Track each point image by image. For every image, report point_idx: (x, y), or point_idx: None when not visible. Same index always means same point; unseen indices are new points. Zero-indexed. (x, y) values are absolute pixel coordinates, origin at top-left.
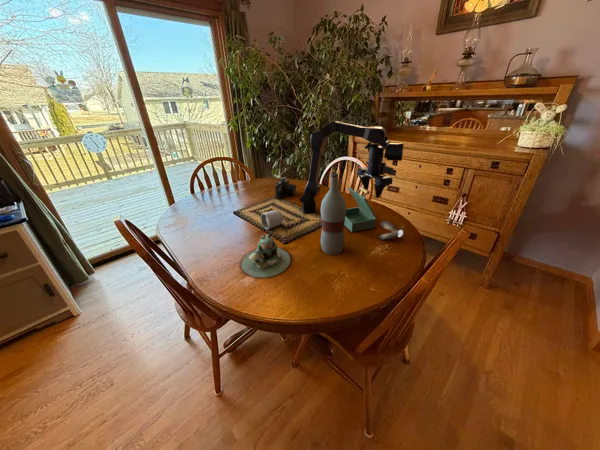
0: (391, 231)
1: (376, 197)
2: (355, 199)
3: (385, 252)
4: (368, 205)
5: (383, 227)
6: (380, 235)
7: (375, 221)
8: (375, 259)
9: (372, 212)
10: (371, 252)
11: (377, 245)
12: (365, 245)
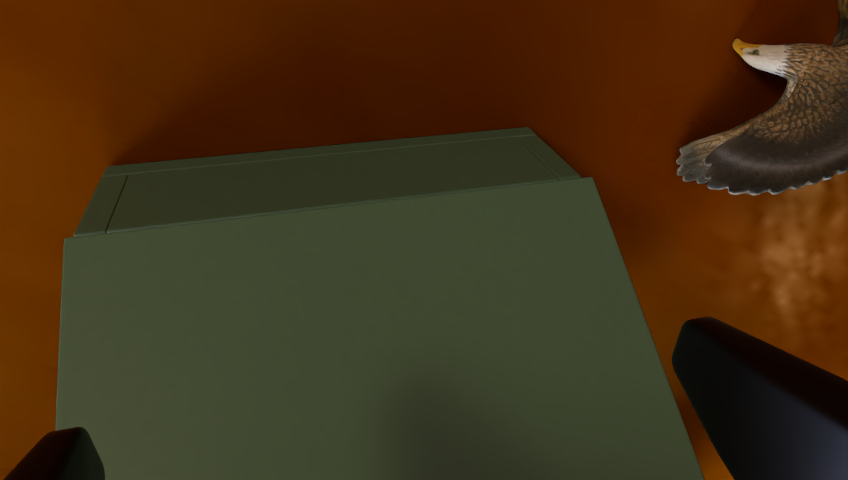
0: (810, 99)
1: (690, 379)
2: (144, 459)
3: (841, 226)
4: (689, 463)
5: (718, 147)
6: (688, 161)
7: (565, 164)
8: (835, 309)
9: (630, 302)
10: (779, 306)
11: (755, 241)
12: (702, 314)
